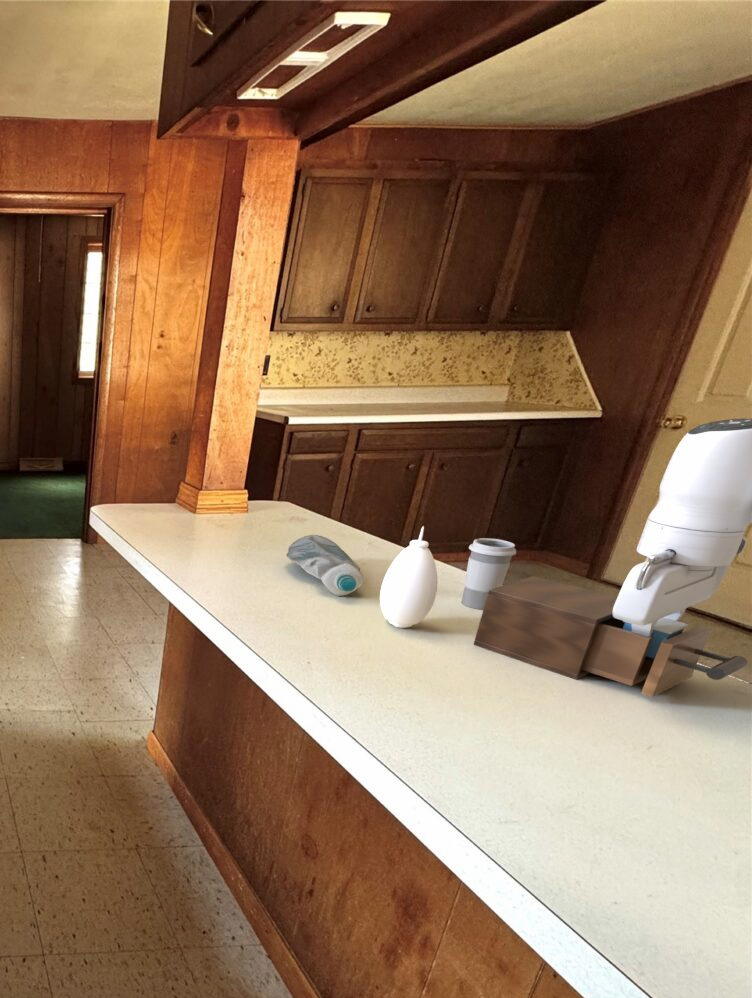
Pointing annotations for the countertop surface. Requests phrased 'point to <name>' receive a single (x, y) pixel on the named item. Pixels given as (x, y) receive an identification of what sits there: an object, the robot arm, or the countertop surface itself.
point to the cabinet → (543, 623)
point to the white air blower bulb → (409, 585)
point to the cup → (485, 569)
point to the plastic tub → (660, 633)
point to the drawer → (673, 663)
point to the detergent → (326, 563)
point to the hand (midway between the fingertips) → (649, 639)
